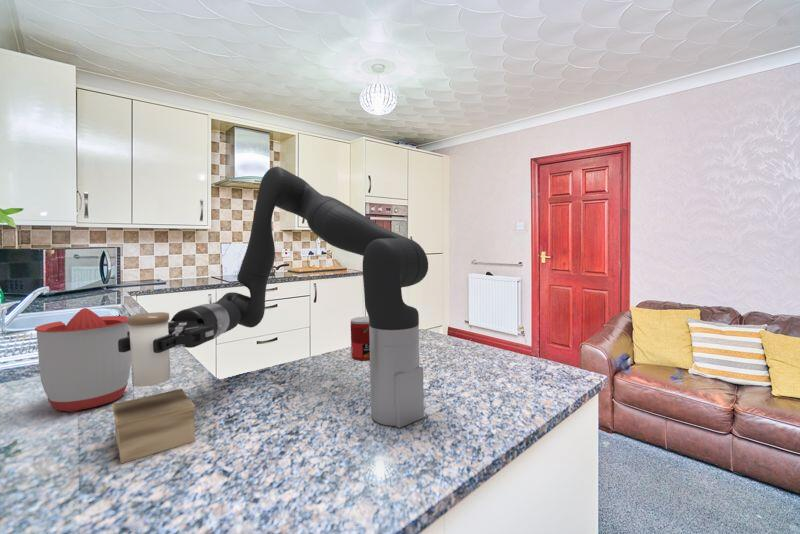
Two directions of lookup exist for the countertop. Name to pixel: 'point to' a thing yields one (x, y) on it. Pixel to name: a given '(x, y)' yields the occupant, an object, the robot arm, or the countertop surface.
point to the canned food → (360, 338)
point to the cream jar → (148, 349)
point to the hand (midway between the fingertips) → (138, 346)
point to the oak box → (153, 424)
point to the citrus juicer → (83, 360)
